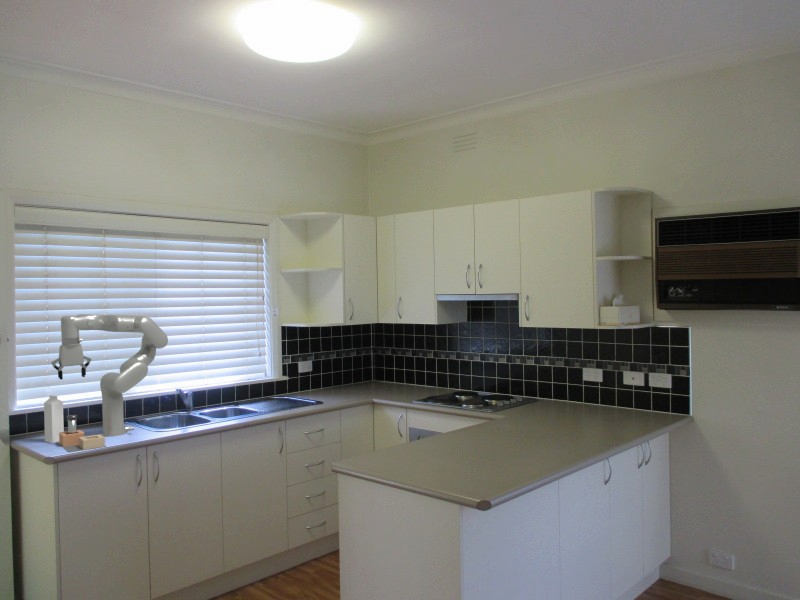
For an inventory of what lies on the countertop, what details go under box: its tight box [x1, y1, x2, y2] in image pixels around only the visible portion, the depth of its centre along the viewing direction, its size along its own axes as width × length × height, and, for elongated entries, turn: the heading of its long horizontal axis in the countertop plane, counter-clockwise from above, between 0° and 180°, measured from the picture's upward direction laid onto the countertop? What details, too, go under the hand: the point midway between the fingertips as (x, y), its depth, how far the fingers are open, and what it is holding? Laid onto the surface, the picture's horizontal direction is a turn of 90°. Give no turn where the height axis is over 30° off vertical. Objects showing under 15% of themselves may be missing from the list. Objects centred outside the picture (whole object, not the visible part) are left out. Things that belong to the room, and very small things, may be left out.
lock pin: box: [66, 414, 78, 434], centre depth 307 cm, size 4×4×13 cm
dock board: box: [57, 429, 107, 453], centre depth 304 cm, size 16×24×6 cm, turn 37°
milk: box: [43, 395, 65, 444], centre depth 318 cm, size 6×6×22 cm
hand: (72, 377), depth 312 cm, fingers open, 9 cm apart
